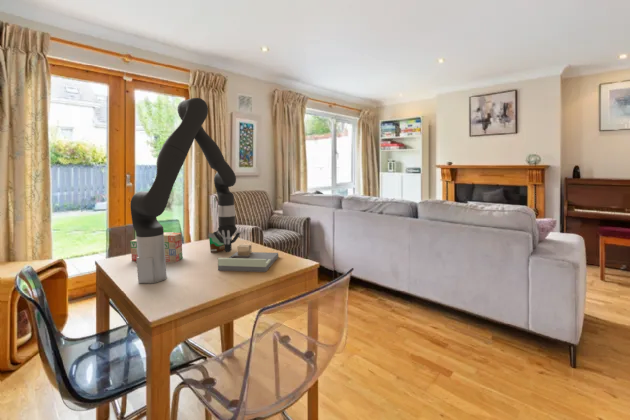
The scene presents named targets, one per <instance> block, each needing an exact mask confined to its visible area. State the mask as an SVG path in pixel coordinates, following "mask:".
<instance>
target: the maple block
mask: <svg viewBox="0 0 630 420" xmlns="http://www.w3.org/2000/svg"><path fill="white" fill-rule="evenodd" d="M236 250H237V251H236V252H238V255H246V256H248V255H250V254H251V253H252V252H253V250H252V244H251V243H249V244H248V243H245V244H244V243H241V244H239V245H238V246H237V248H236Z"/></svg>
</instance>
